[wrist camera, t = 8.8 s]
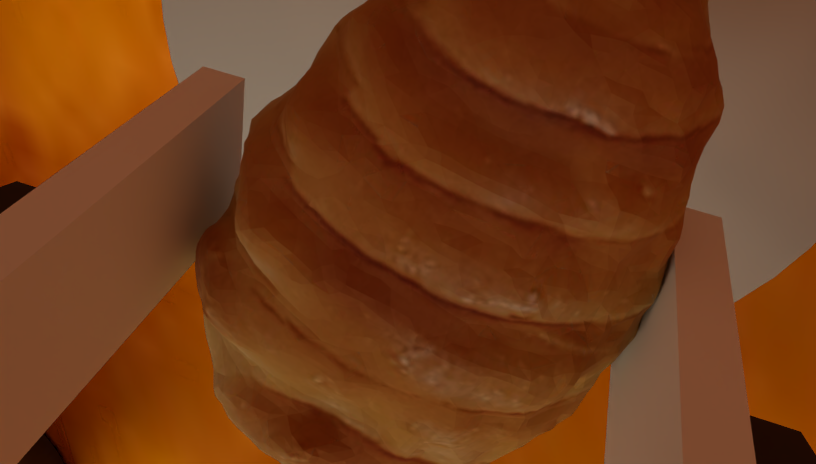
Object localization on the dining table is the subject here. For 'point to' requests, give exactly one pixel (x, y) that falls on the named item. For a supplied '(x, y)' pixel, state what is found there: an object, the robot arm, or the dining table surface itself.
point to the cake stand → (720, 160)
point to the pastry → (454, 224)
